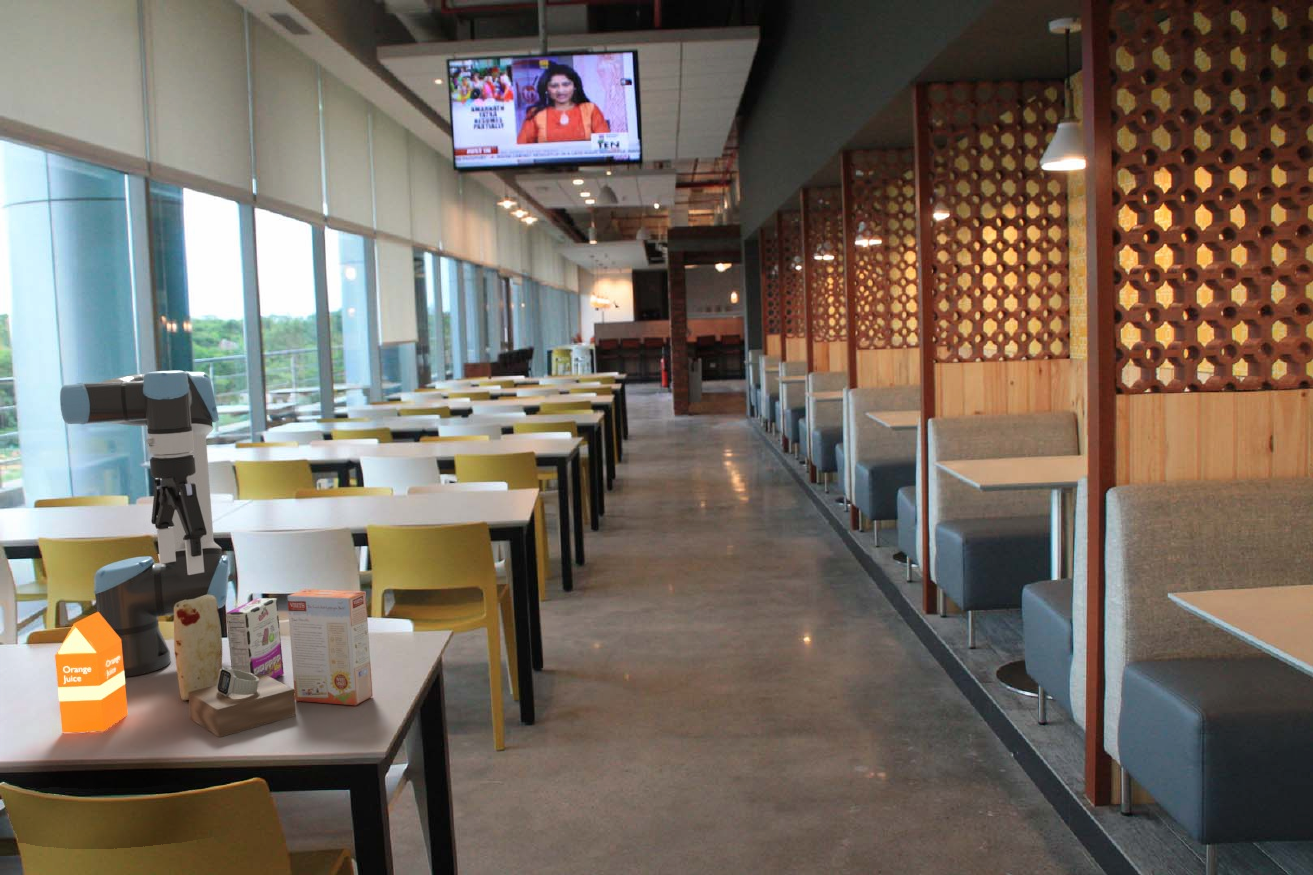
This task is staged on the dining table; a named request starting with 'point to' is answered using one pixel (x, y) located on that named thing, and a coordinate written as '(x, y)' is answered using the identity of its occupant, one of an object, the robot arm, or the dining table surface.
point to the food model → (197, 643)
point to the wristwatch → (236, 682)
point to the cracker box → (330, 646)
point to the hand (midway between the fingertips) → (181, 567)
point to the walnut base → (242, 707)
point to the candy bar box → (255, 638)
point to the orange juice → (91, 677)
